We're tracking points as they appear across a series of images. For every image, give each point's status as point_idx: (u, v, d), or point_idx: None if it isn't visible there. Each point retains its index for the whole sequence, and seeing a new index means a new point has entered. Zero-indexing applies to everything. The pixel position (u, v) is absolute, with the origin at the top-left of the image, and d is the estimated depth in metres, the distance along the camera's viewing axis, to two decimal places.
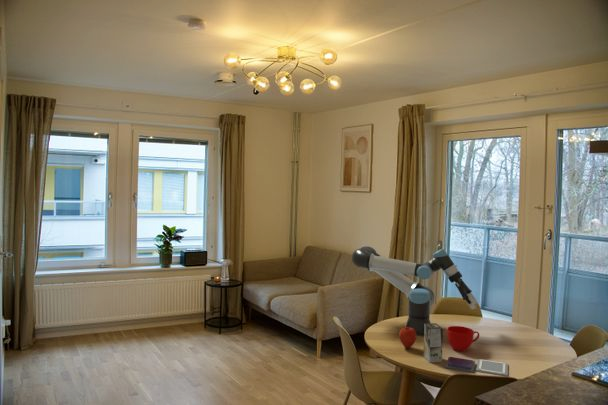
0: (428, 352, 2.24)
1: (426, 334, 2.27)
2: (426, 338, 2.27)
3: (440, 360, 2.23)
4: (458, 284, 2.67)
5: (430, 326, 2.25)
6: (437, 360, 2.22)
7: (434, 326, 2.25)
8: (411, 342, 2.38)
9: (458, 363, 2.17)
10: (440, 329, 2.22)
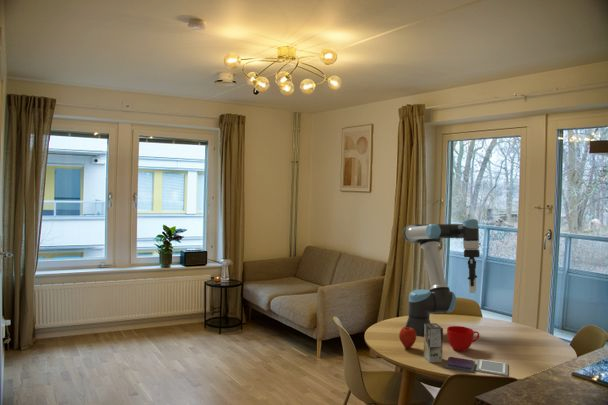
0: (428, 352, 2.24)
1: (426, 334, 2.27)
2: (426, 338, 2.27)
3: (440, 360, 2.23)
4: (472, 261, 2.35)
5: (430, 326, 2.25)
6: (437, 360, 2.22)
7: (434, 326, 2.25)
8: (411, 342, 2.38)
9: (458, 363, 2.17)
10: (440, 329, 2.22)
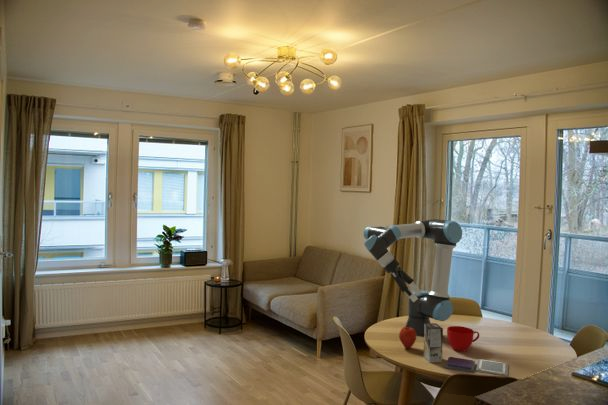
0: (427, 352, 2.24)
1: (426, 334, 2.27)
2: (426, 338, 2.27)
3: (440, 360, 2.23)
4: (395, 274, 2.26)
5: (430, 326, 2.25)
6: (437, 360, 2.22)
7: (434, 326, 2.25)
8: (411, 342, 2.38)
9: (458, 363, 2.17)
10: (440, 329, 2.22)
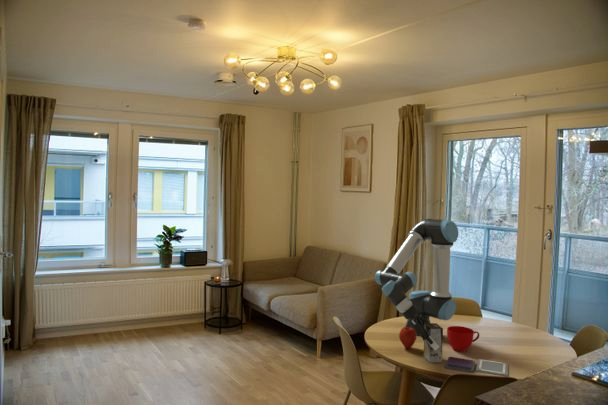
0: (427, 352, 2.24)
1: None
2: None
3: (440, 360, 2.22)
4: (414, 322, 2.23)
5: (430, 326, 2.25)
6: (437, 360, 2.22)
7: (434, 326, 2.25)
8: (411, 342, 2.38)
9: (458, 363, 2.17)
10: (440, 329, 2.22)
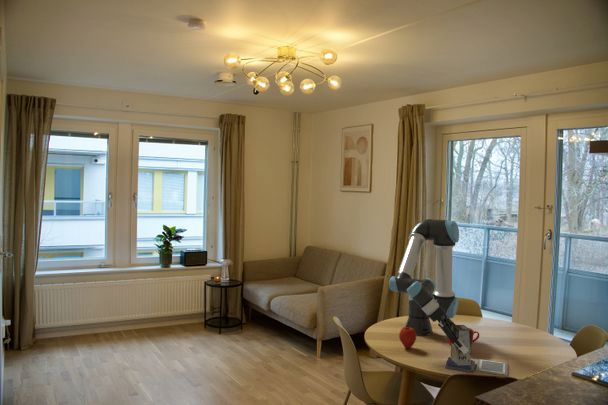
0: (455, 355, 2.16)
1: None
2: None
3: (469, 363, 2.14)
4: (442, 324, 2.15)
5: (458, 328, 2.17)
6: (466, 363, 2.14)
7: (462, 328, 2.17)
8: (411, 342, 2.38)
9: None
10: (469, 331, 2.14)
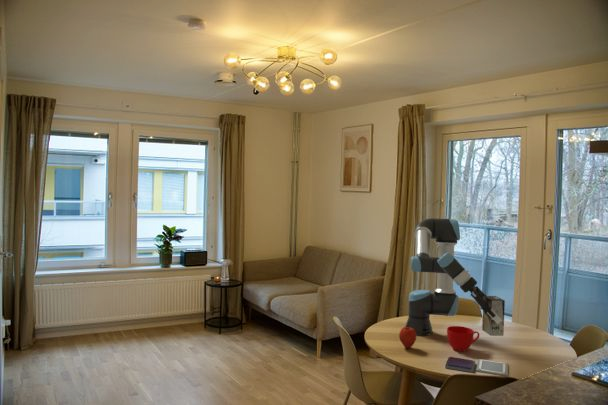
0: (488, 325, 2.14)
1: None
2: None
3: (502, 333, 2.12)
4: (475, 294, 2.13)
5: (490, 298, 2.15)
6: (498, 333, 2.12)
7: (495, 298, 2.15)
8: (411, 342, 2.38)
9: (458, 363, 2.17)
10: (502, 301, 2.12)
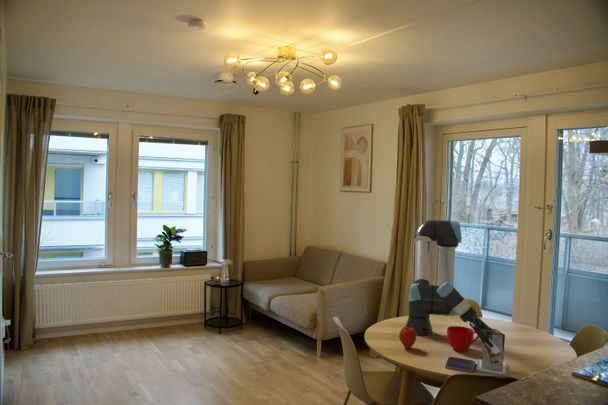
0: (487, 359, 2.15)
1: None
2: None
3: (501, 367, 2.13)
4: (473, 324, 2.13)
5: (491, 332, 2.16)
6: (498, 367, 2.13)
7: (495, 332, 2.16)
8: (411, 342, 2.38)
9: (458, 363, 2.17)
10: (502, 335, 2.13)
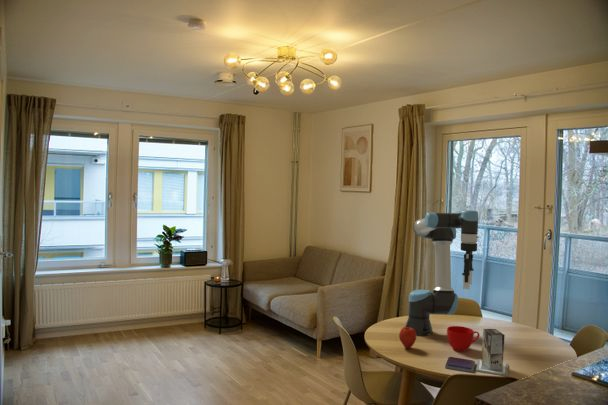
0: (487, 359, 2.15)
1: (485, 340, 2.17)
2: (485, 344, 2.17)
3: (501, 368, 2.13)
4: (468, 256, 2.21)
5: (490, 332, 2.16)
6: (498, 367, 2.13)
7: (494, 332, 2.16)
8: (411, 342, 2.38)
9: (458, 363, 2.17)
10: (501, 335, 2.13)
